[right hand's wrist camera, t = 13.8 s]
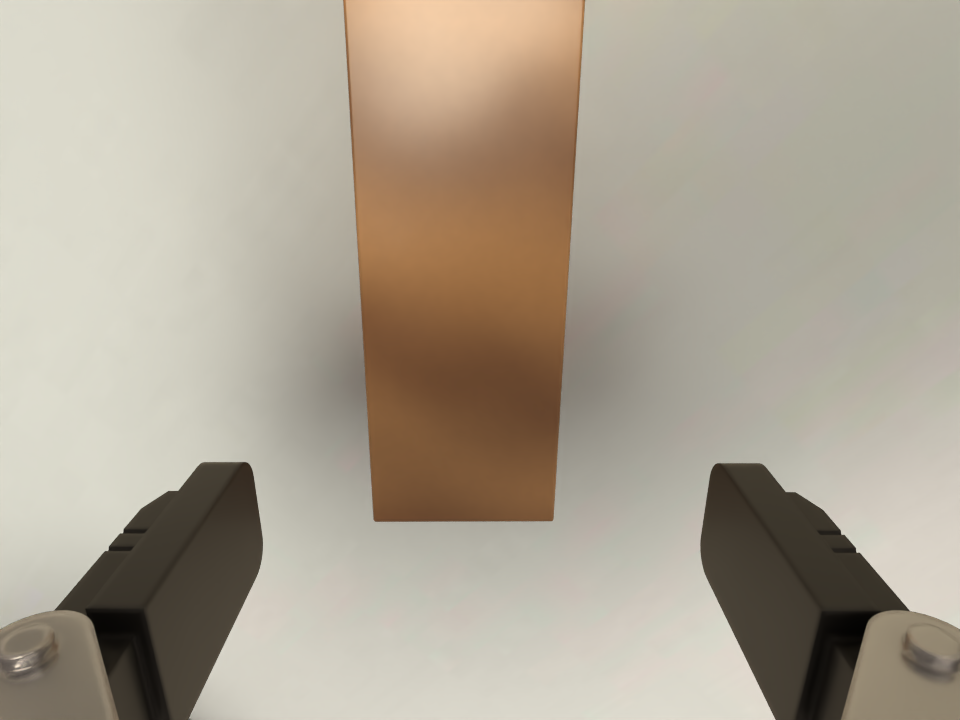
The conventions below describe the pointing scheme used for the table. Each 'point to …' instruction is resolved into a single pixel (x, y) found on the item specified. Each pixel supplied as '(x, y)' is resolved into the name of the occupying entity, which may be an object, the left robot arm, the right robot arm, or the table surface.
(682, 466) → the table surface
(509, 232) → the beam
